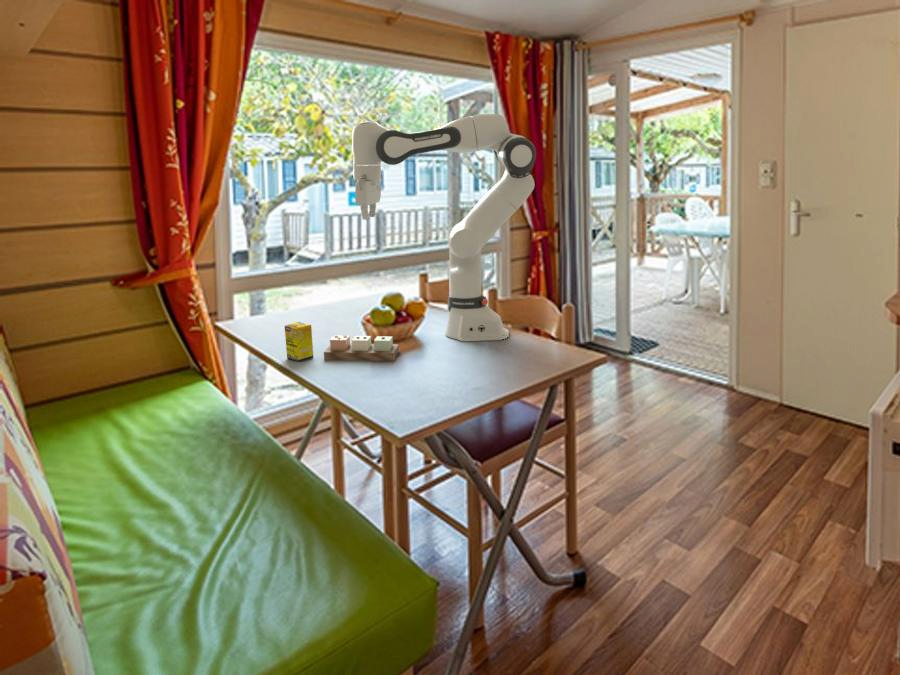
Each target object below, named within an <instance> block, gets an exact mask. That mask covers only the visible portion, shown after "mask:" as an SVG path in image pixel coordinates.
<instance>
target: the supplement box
mask: <svg viewBox="0 0 900 675" xmlns="http://www.w3.org/2000/svg"><path fill="white" fill-rule="evenodd" d="M312 332H313V331H312V325H311V324H309V323H303V322H301V321H297V322H294V323H293V322H292V323H289V324H286V325H284V337H285V347H286V348H285V349H286V359H287V360H291V361H293V362H294V361H295V362H298V363H301V362H304V361H307V360H310V359H313V358H314V345H313V333H312Z"/></svg>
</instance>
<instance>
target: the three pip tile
mask: <svg viewBox="0 0 900 675" xmlns="http://www.w3.org/2000/svg"><path fill="white" fill-rule="evenodd" d="M350 336H351V335H333V336H332V337H331V338H330V339H329V346H330V348H331V350H348V349H349V347H350V343H351V341H350V340H351V338H350Z"/></svg>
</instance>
